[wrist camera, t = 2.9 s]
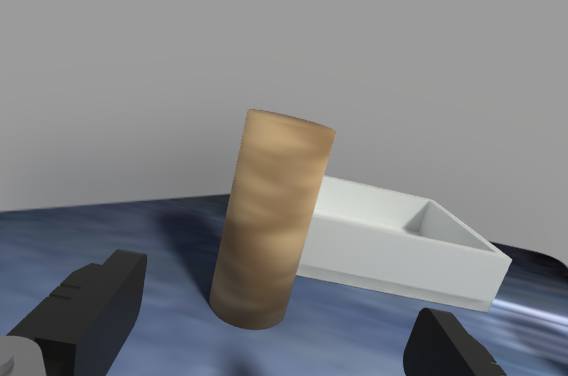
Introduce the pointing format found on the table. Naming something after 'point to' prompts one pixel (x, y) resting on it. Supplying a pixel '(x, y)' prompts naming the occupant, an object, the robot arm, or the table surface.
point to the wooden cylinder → (268, 217)
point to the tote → (399, 247)
